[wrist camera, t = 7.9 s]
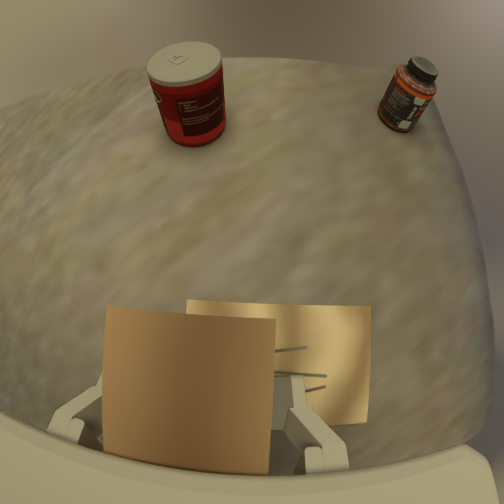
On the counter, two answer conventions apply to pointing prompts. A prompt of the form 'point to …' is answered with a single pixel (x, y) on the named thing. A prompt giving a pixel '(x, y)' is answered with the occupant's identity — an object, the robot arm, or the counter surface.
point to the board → (316, 352)
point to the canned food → (189, 91)
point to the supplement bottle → (408, 93)
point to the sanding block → (188, 390)
